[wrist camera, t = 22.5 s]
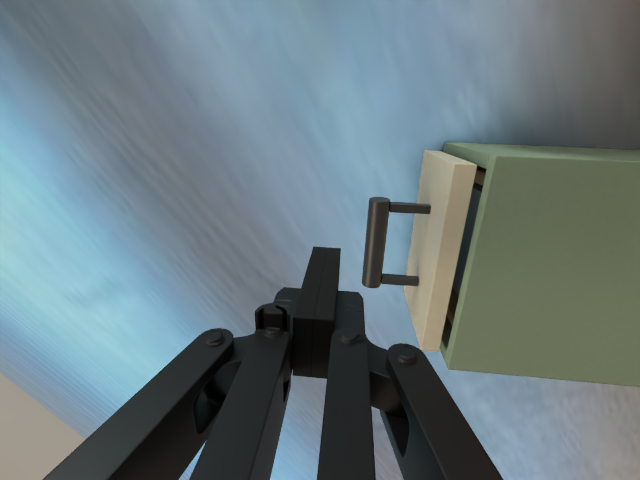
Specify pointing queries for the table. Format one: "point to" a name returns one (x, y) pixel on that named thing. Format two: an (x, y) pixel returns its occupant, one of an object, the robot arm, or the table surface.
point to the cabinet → (551, 266)
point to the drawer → (426, 242)
